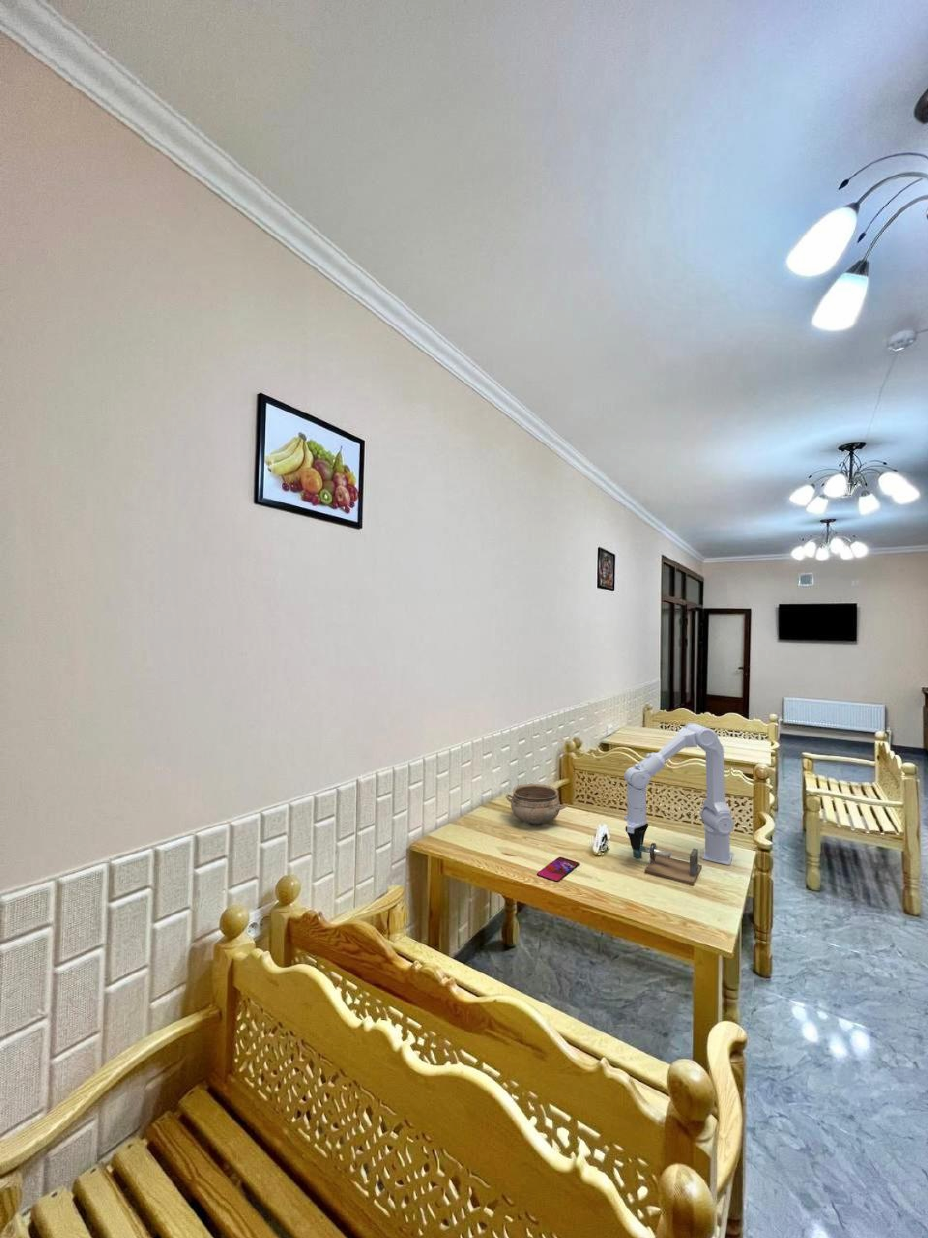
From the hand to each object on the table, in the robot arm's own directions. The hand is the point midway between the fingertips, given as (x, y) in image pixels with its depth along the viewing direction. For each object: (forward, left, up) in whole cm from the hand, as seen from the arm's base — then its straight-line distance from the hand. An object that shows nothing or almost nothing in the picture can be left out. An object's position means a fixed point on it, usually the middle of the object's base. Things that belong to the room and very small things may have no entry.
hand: (637, 847), depth 164 cm
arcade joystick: (0, +4, -3) cm, 5 cm away
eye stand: (0, +11, -4) cm, 12 cm away
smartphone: (+19, -19, -5) cm, 27 cm away
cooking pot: (-11, -42, -5) cm, 44 cm away
